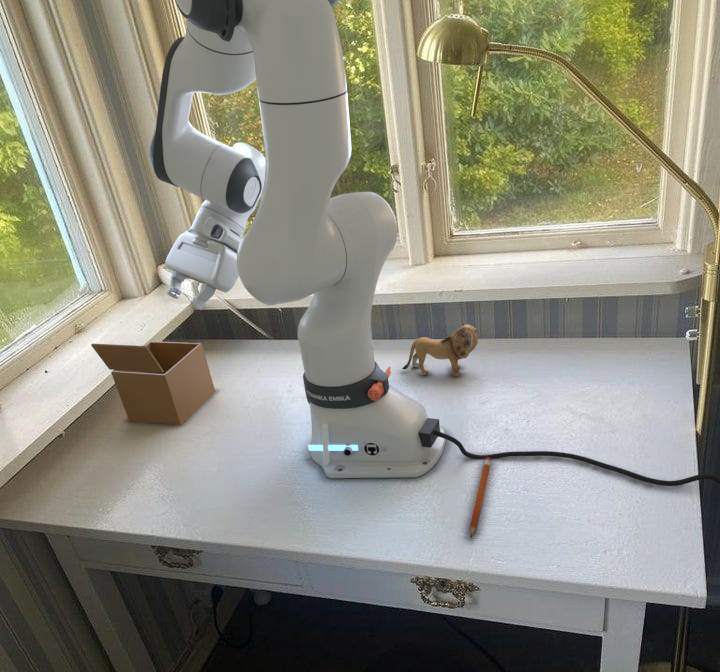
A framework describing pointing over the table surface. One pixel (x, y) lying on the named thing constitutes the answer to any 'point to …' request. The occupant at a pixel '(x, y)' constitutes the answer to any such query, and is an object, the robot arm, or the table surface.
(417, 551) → the table surface
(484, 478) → the pencil
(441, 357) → the lion figurine
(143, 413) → the carton
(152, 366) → the flap
